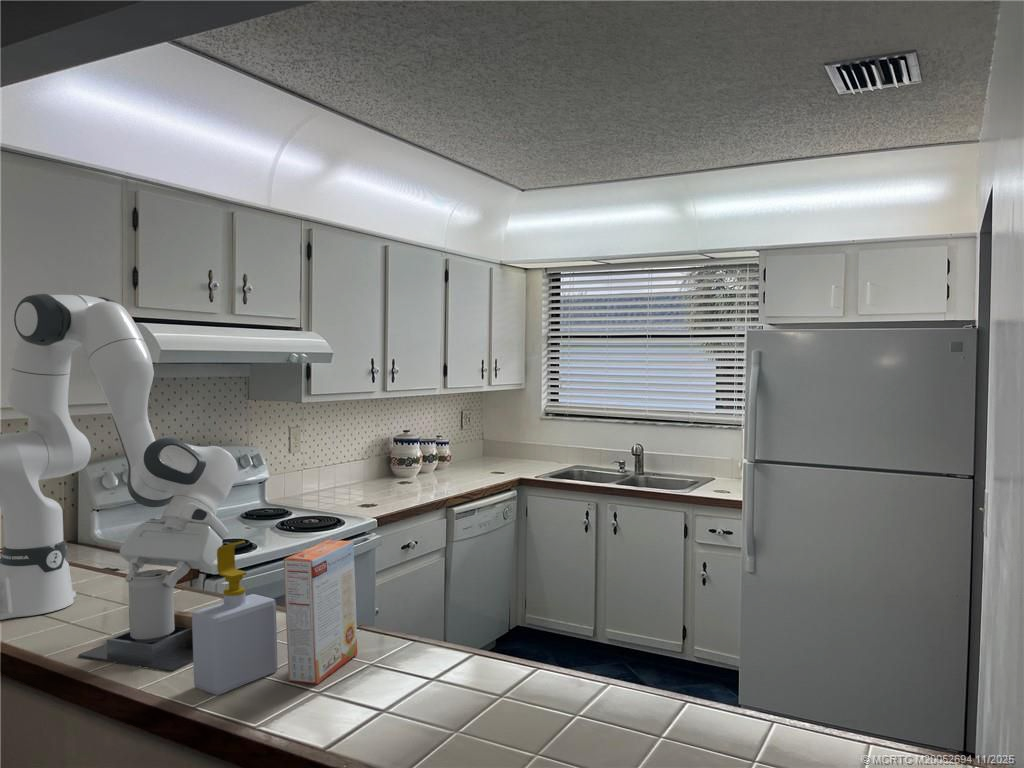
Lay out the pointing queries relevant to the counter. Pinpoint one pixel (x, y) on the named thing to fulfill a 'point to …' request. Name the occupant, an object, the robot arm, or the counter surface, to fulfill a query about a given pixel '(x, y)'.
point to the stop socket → (148, 650)
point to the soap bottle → (233, 634)
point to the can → (150, 606)
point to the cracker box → (320, 610)
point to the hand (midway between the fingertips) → (148, 584)
